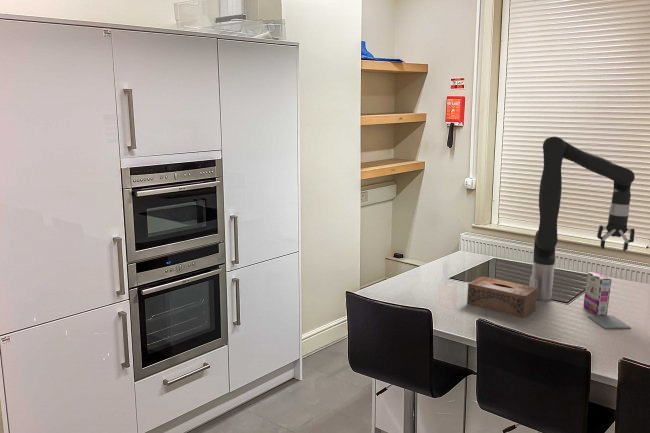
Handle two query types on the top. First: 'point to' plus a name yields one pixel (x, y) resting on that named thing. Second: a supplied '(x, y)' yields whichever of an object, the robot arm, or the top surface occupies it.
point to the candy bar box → (597, 293)
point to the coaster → (609, 322)
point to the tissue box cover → (502, 296)
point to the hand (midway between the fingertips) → (613, 249)
